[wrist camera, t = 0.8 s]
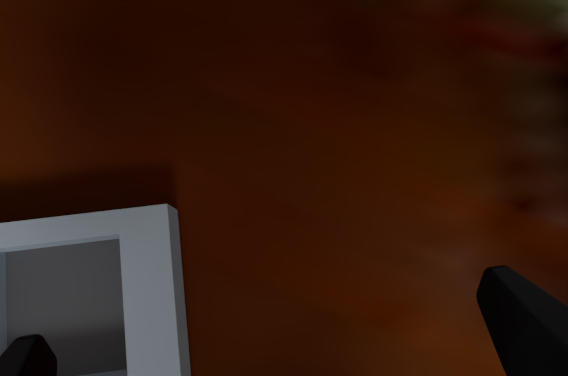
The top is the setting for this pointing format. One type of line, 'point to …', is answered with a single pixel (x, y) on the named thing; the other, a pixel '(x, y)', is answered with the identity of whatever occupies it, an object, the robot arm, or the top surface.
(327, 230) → the top surface
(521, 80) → the top surface
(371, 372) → the top surface
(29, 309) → the board
